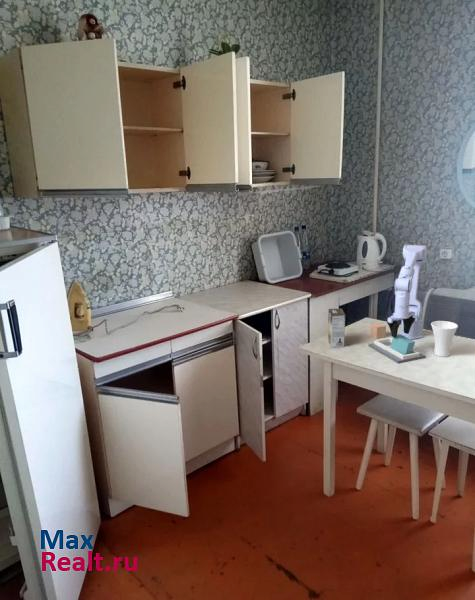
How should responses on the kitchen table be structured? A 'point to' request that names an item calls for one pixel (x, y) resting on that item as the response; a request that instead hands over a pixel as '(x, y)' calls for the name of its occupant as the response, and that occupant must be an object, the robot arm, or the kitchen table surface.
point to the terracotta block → (378, 330)
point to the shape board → (385, 349)
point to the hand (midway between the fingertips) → (400, 335)
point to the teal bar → (402, 344)
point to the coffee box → (336, 327)
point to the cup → (443, 337)
